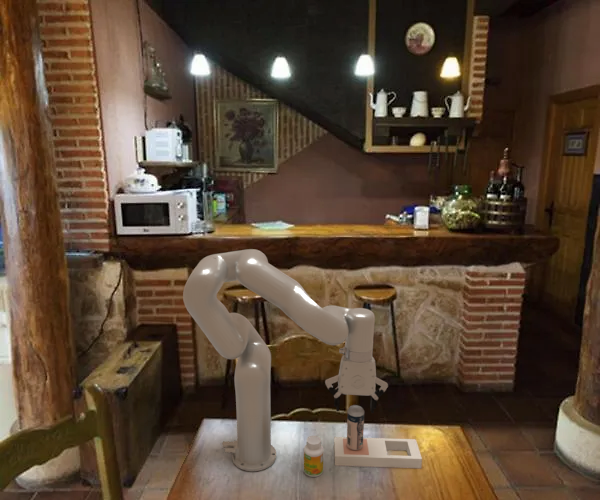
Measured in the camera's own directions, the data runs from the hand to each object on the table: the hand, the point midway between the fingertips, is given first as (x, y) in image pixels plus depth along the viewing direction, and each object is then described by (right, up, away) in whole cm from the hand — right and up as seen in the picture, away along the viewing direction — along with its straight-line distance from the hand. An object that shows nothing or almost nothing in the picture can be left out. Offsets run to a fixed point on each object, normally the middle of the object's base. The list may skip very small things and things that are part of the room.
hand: (354, 409), depth 136 cm
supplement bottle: (-12, -16, -3) cm, 20 cm away
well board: (+7, -15, +3) cm, 16 cm away
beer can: (0, -12, +3) cm, 12 cm away
